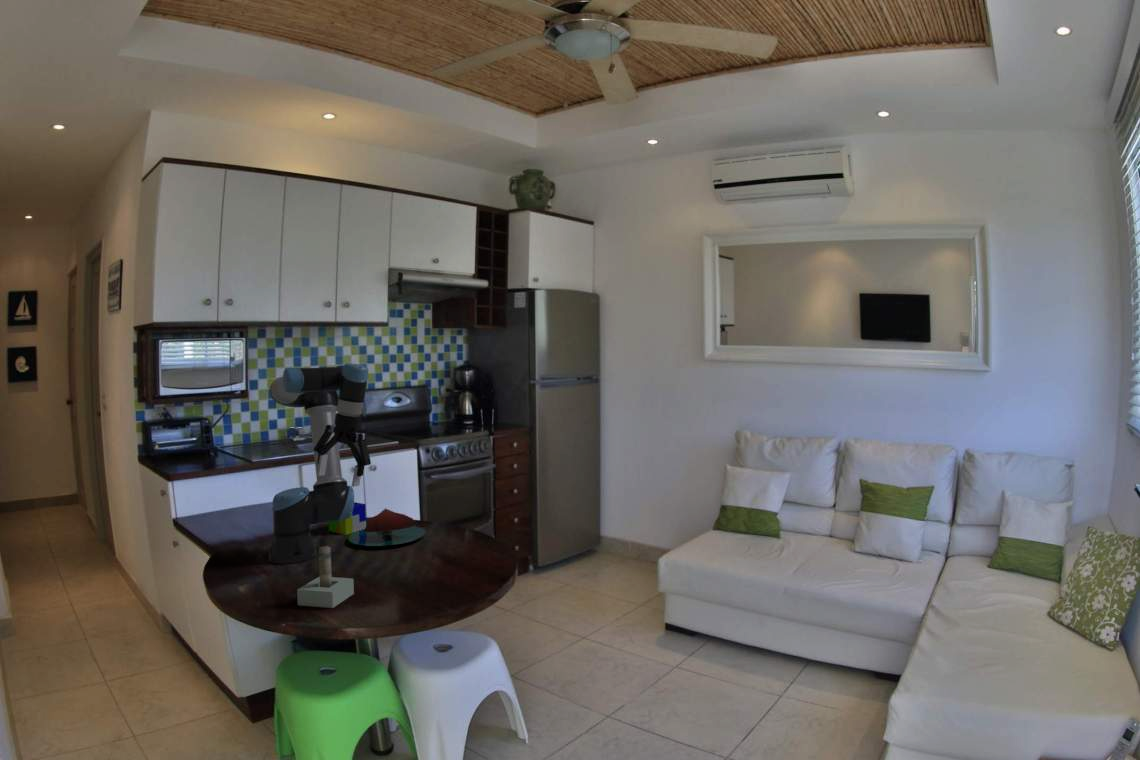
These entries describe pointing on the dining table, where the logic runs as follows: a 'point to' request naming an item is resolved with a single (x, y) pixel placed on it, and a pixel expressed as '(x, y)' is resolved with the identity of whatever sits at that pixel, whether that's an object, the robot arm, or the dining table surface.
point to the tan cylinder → (325, 566)
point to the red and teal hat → (387, 530)
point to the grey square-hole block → (325, 593)
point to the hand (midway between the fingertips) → (337, 480)
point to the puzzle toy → (351, 521)
